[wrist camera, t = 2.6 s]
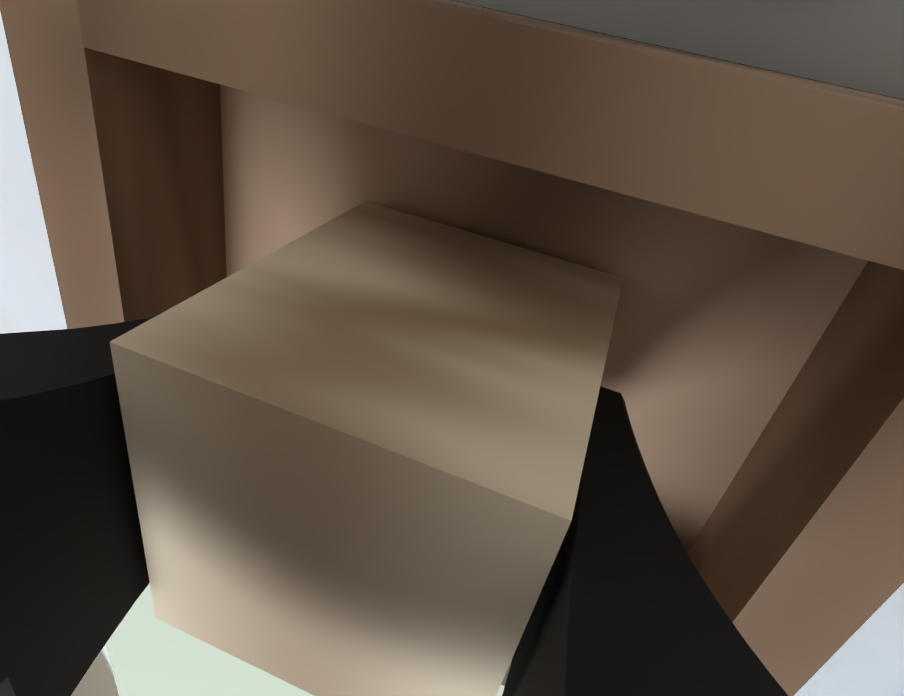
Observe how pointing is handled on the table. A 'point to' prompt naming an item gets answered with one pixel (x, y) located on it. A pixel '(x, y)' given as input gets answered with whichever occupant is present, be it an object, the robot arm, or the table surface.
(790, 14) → the table surface
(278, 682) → the lid
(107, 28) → the brown wooden shallow box
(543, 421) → the block
